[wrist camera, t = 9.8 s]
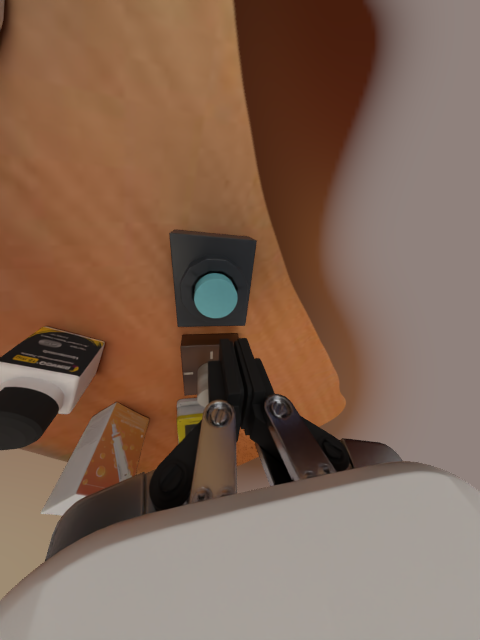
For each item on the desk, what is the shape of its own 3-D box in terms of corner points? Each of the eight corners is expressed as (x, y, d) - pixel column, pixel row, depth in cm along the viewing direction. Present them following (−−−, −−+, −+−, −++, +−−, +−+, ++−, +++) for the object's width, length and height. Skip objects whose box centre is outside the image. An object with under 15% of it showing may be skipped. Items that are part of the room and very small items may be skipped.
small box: (150, 417, 37) (129, 504, 26) (127, 431, 38) (97, 521, 27) (116, 400, 33) (74, 495, 22) (91, 416, 33) (37, 515, 22)
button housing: (174, 229, 21) (166, 234, 16) (248, 236, 23) (262, 243, 18) (180, 312, 26) (175, 335, 21) (239, 312, 28) (248, 333, 23)
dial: (197, 381, 30) (197, 411, 25) (197, 362, 28) (197, 390, 23) (223, 379, 31) (227, 408, 26) (225, 361, 29) (230, 388, 24)
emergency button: (225, 415, 34) (219, 453, 41) (222, 395, 38) (217, 434, 45) (174, 421, 32) (177, 460, 39) (176, 399, 36) (179, 439, 43)
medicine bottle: (106, 340, 26) (47, 420, 16) (96, 373, 29) (40, 460, 19) (43, 324, 23) (-76, 409, 13) (39, 362, 26) (-64, 457, 16)
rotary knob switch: (182, 334, 28) (180, 347, 25) (237, 333, 30) (241, 344, 27) (185, 382, 34) (184, 396, 31) (232, 378, 36) (235, 391, 33)
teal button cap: (194, 271, 18) (193, 277, 16) (236, 273, 19) (239, 279, 17) (195, 309, 20) (194, 318, 19) (232, 309, 21) (235, 318, 20)
